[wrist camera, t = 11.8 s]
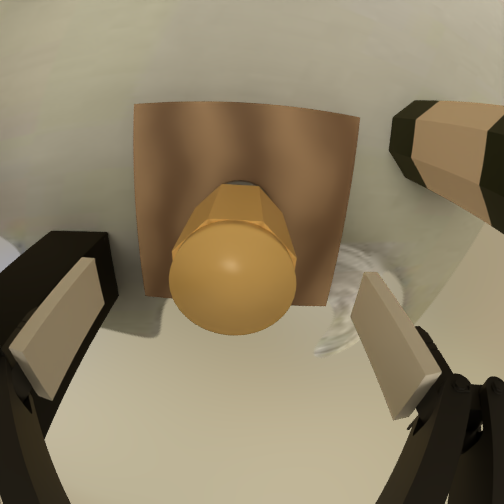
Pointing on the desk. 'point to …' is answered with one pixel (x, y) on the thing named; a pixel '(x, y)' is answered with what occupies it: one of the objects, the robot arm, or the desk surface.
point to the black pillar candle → (41, 285)
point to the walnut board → (244, 178)
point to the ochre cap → (234, 263)
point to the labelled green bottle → (454, 153)
